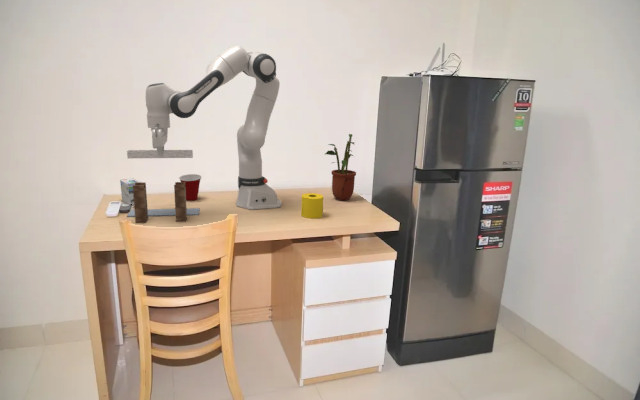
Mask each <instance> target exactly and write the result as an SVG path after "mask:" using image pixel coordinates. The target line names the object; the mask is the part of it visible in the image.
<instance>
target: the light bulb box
mask: <svg viewBox="0 0 640 400" xmlns="http://www.w3.org/2000/svg"><path fill="white" fill-rule="evenodd" d="M119 182H120V183H119V184H120V191H121V202H124V203H125V204H127V203H128V204H132V205H131V206H134V196H133V185H135V183H140V182H141V181H140V180H138V179H136V178H134V177H133V178H132V177H131V178H124V179H120V180H119ZM128 204H127V205H128Z"/></svg>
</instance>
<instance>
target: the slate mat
mask: <svg viewBox="0 0 640 400" xmlns="http://www.w3.org/2000/svg"><path fill="white" fill-rule="evenodd" d="M186 209H187V217H188V216H189V217H190V216H200V210H201V209H200V208H199V207H196V208H195V207H193V208H192V207H191V208H188V207H186ZM149 217H176V213H175V208H148V218H149ZM126 218H135V209H130V211H129V212H128V213H127V214H126Z"/></svg>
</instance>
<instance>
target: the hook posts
mask: <svg viewBox="0 0 640 400" xmlns="http://www.w3.org/2000/svg"><path fill="white" fill-rule="evenodd" d="M146 183H147V182H143V181H140V183H135V185H133V196H134V205H133V207H134V210H135V217H134V221H135V224H147V222H148V221H149V217H148V209H149V208H148V199H147V198H148V195H147V186H146V185H147V184H146ZM173 186H174V187H173V189H174V191H173V192H174V209H175V213H176V216H175V222H176V223H187V218H188V216H187V209H186V208H187V200H186V187H185V182H181V181H177V182H174V185H173Z"/></svg>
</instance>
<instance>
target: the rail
mask: <svg viewBox="0 0 640 400" xmlns="http://www.w3.org/2000/svg"><path fill="white" fill-rule="evenodd" d="M162 152H163V156H162V157H158V152H157V149H128V150H126V156H127V159H193V157H194V152H193V149H164V150H162Z"/></svg>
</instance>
